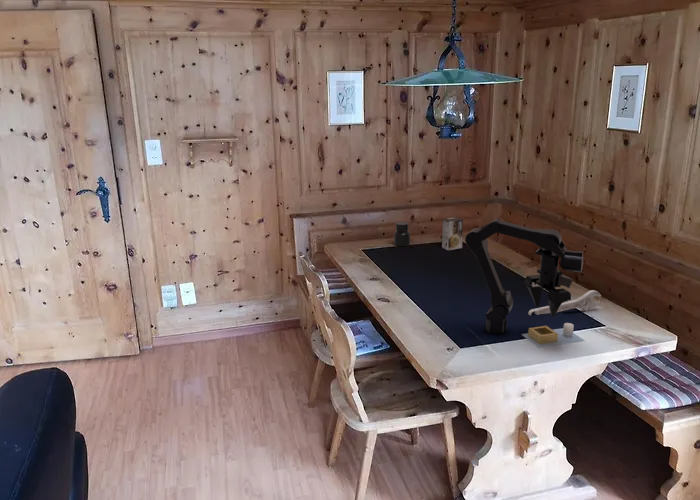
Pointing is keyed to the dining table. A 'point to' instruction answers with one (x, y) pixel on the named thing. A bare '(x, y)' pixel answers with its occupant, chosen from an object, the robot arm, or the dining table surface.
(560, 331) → the board
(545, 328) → the tan square tray
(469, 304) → the dining table surface
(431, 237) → the dining table surface
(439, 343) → the dining table surface
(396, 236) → the ink bottle
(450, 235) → the coffee box
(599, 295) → the wrench
